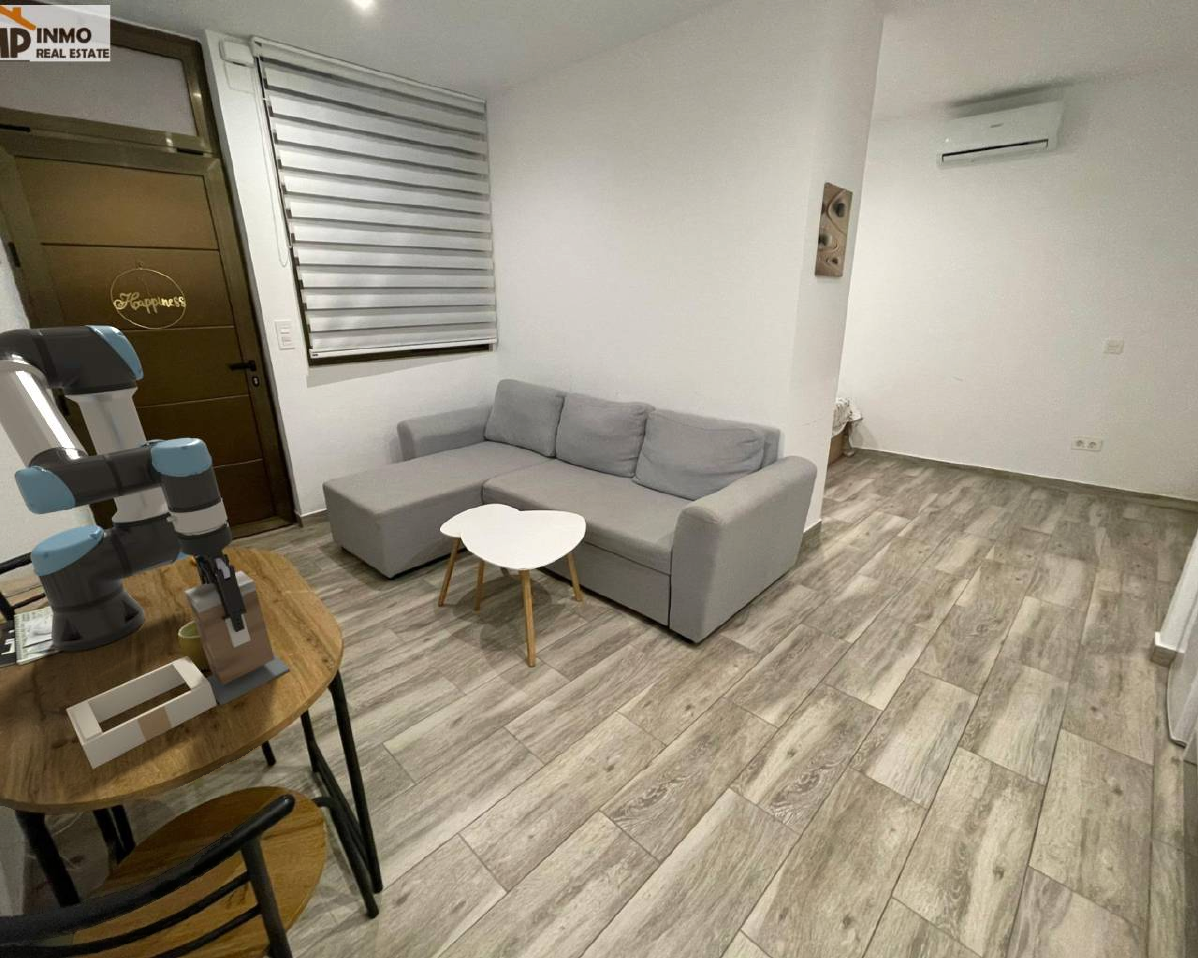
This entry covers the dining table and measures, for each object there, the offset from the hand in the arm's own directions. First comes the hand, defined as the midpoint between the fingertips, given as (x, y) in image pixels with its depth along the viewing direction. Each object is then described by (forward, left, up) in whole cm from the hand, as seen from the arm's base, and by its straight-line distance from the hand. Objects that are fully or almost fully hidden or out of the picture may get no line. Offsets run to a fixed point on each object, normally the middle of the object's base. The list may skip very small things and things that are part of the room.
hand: (234, 635), depth 100 cm
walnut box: (0, 0, -7) cm, 7 cm away
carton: (-2, -15, -10) cm, 18 cm away
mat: (0, 0, -10) cm, 10 cm away
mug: (-12, -1, -10) cm, 16 cm away
